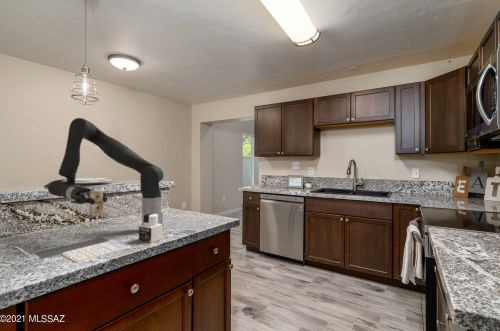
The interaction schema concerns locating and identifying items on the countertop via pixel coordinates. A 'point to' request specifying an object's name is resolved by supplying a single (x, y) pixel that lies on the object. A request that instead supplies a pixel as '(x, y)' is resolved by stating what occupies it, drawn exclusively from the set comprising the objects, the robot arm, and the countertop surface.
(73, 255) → the calculator
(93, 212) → the domino
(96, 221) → the countertop surface
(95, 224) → the countertop surface
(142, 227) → the medicine bottle
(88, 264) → the countertop surface
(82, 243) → the mat
